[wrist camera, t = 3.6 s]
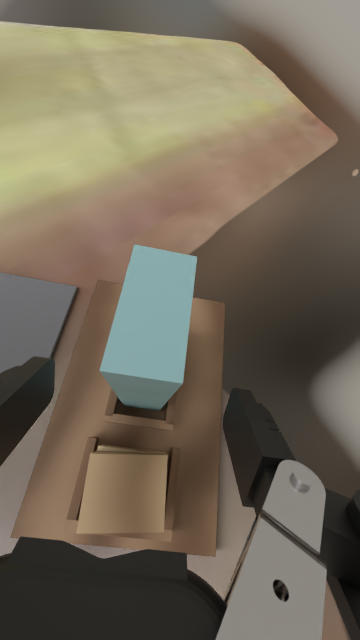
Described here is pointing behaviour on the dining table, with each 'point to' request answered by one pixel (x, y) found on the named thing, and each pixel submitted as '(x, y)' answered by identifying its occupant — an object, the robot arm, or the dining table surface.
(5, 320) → the mat
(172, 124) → the dining table surface
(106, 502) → the offcut top
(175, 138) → the dining table surface
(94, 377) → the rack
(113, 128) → the dining table surface
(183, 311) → the teal rectangular block
